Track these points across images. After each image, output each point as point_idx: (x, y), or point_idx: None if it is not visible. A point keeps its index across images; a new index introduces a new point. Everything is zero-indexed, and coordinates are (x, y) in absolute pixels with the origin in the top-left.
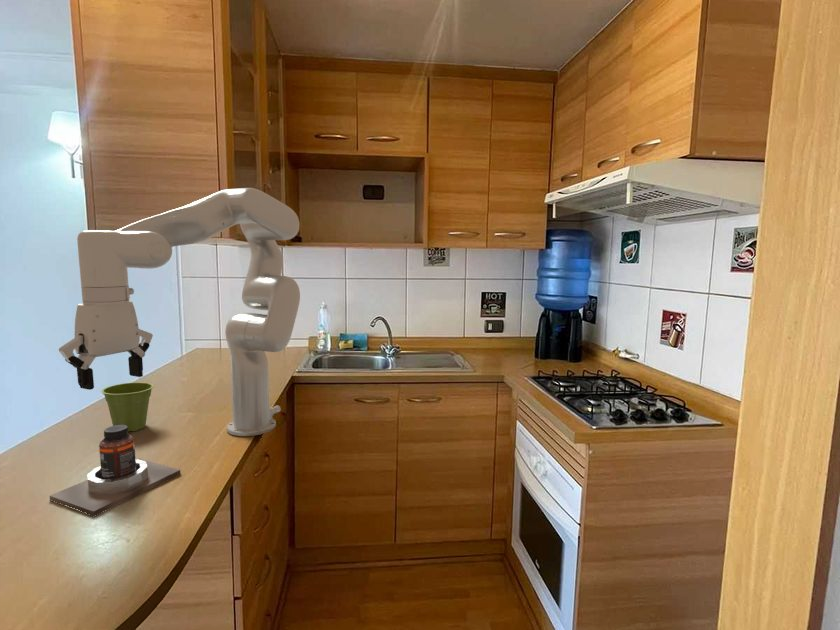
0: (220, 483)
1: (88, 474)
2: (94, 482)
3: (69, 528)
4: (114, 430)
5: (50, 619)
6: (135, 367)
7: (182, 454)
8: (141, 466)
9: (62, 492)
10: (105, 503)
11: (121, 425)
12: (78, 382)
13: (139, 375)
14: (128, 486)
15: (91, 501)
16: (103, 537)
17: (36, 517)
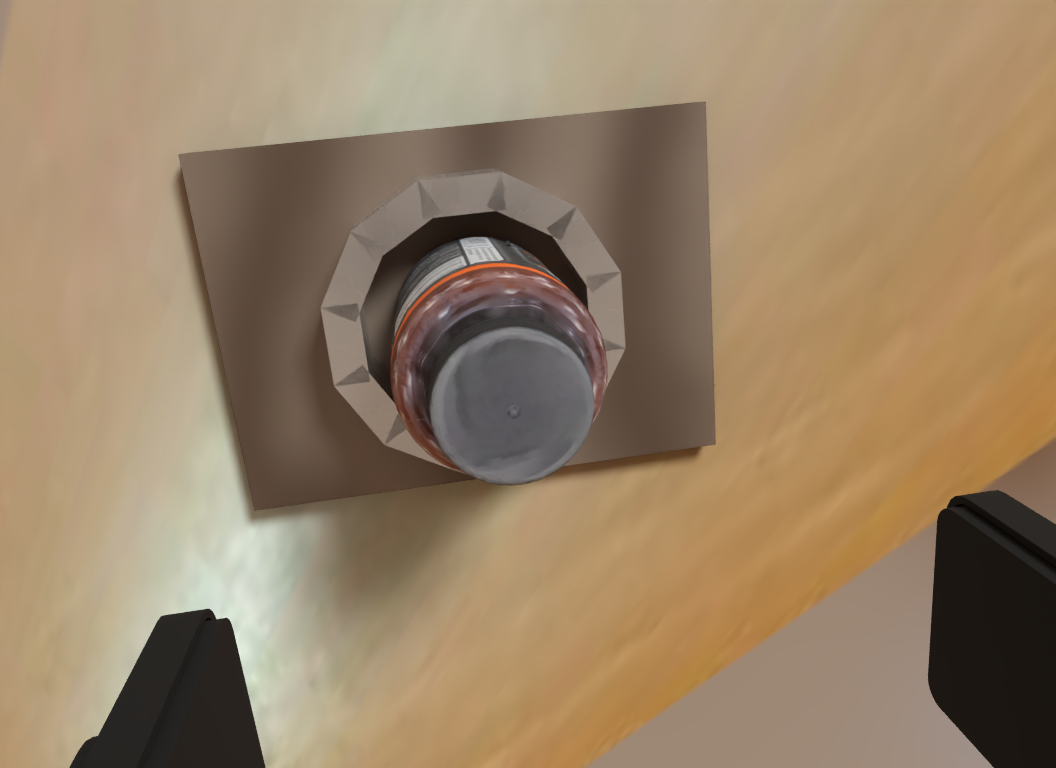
0: (727, 656)
1: (353, 238)
2: (331, 364)
3: (153, 511)
4: (480, 453)
5: None
6: (1024, 734)
7: (879, 216)
8: None
9: (237, 178)
10: (321, 483)
11: (572, 384)
12: (83, 760)
13: (945, 703)
14: None
15: (289, 410)
16: None
17: (84, 286)
